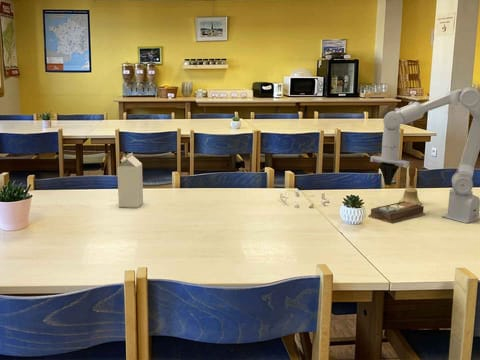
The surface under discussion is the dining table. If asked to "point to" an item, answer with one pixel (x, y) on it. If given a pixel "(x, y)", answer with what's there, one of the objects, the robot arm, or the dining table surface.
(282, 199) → the game piece set
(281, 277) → the dining table surface
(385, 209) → the key three slate
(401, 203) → the key one terracotta
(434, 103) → the robot arm
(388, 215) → the wooden tray
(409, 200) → the hand bell
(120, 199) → the milk carton
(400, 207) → the key two cream
